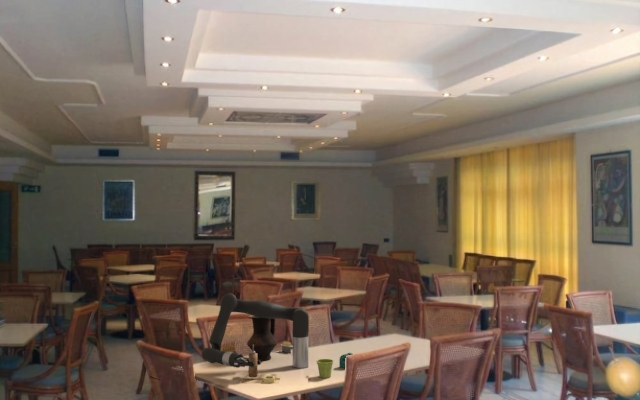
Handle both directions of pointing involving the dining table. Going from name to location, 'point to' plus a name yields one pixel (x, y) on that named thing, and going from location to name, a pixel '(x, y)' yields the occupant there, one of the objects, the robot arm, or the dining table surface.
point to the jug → (262, 337)
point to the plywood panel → (259, 378)
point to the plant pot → (325, 367)
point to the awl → (254, 359)
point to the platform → (286, 347)
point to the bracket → (343, 360)
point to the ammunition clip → (228, 347)
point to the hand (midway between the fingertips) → (257, 363)
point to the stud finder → (269, 379)
